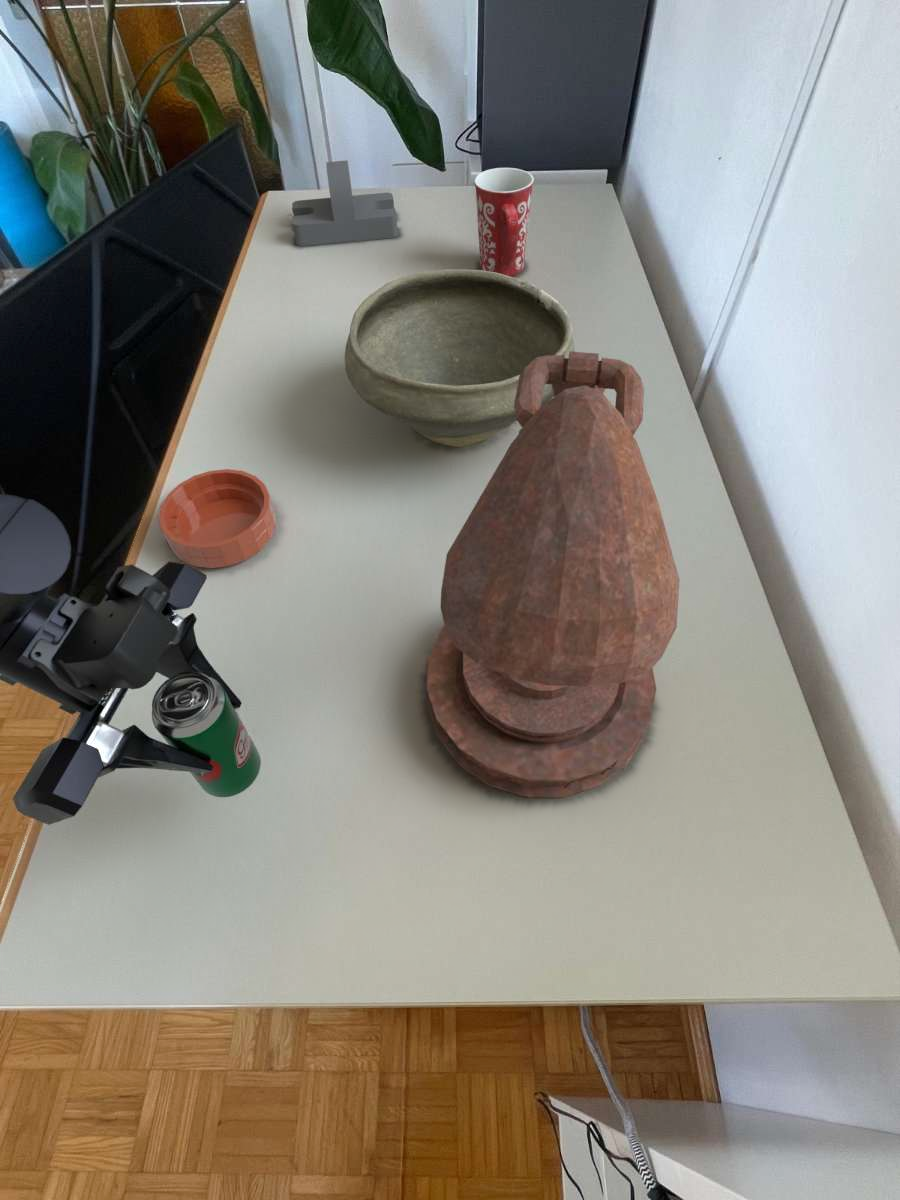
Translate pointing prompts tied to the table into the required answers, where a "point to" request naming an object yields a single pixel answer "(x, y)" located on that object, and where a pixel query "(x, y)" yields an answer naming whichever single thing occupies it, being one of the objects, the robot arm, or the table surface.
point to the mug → (503, 218)
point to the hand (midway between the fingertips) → (224, 737)
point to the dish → (218, 518)
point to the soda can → (206, 731)
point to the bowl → (453, 350)
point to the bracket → (343, 213)
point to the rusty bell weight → (557, 592)
